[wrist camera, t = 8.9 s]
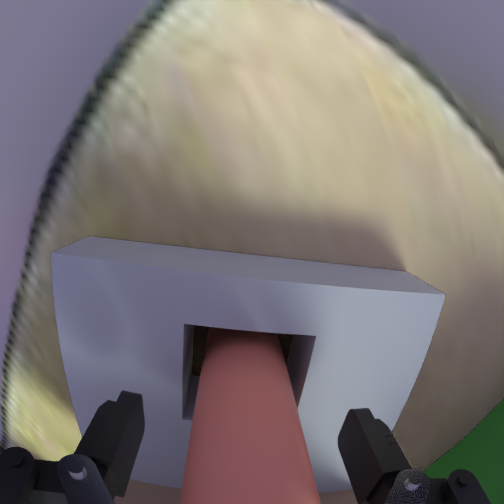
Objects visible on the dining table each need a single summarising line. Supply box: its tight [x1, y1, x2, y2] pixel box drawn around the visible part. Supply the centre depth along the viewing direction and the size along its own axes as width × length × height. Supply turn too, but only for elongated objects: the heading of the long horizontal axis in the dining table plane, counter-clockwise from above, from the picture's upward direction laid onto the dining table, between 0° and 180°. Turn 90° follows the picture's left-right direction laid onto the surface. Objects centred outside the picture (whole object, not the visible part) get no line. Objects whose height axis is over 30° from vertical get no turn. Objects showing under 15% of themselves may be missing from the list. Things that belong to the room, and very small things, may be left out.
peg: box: [180, 327, 321, 504], centre depth 11 cm, size 4×4×12 cm
